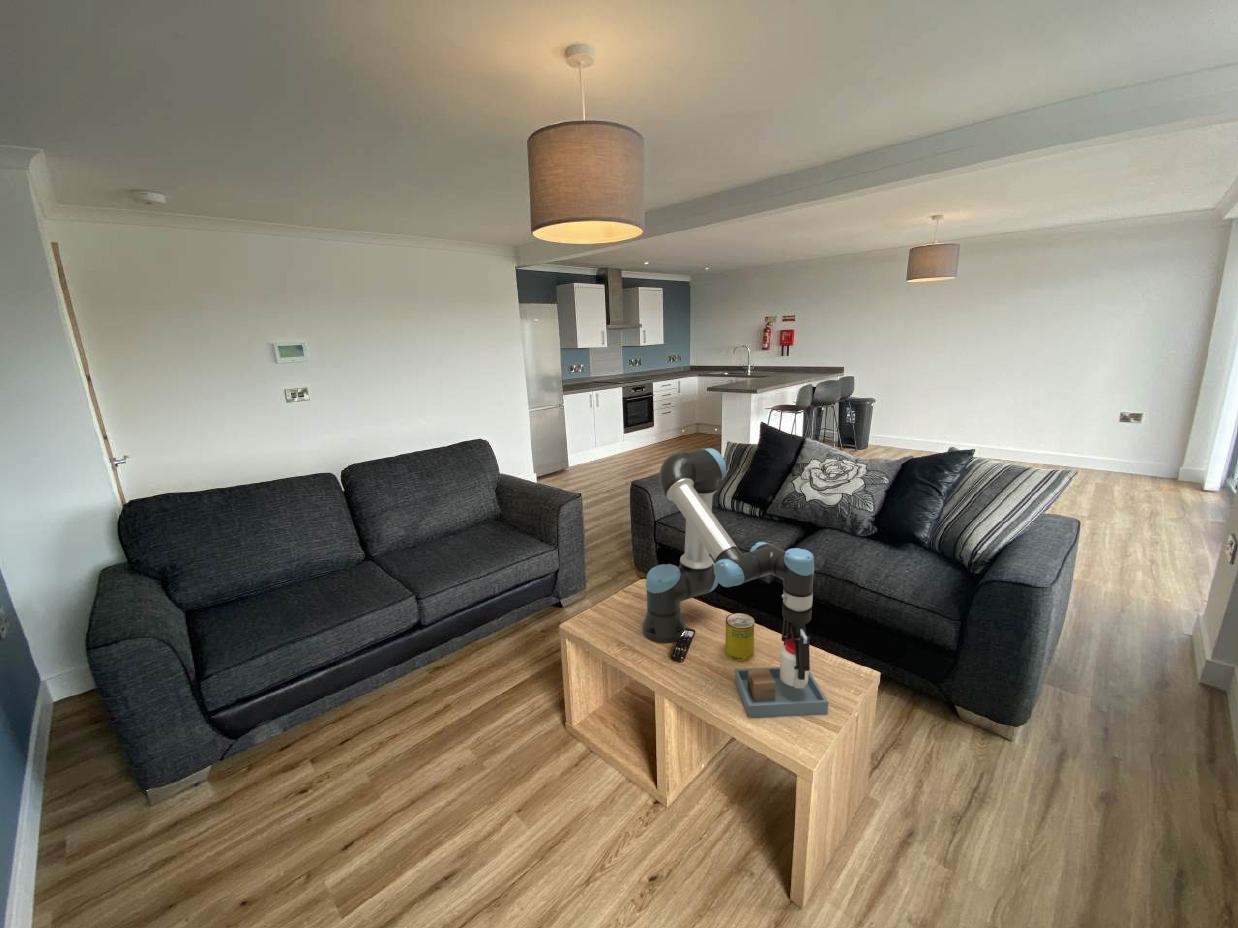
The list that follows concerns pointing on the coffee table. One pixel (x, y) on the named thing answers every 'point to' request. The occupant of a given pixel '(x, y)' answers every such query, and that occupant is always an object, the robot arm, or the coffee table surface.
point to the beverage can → (739, 637)
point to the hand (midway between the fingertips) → (793, 677)
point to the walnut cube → (761, 685)
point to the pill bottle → (789, 663)
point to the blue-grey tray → (782, 697)
